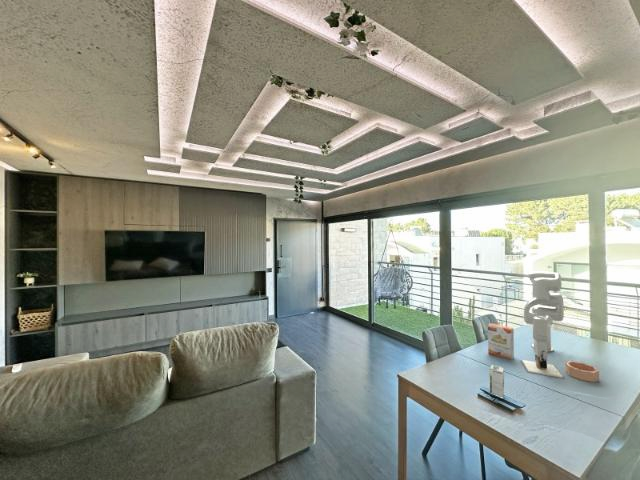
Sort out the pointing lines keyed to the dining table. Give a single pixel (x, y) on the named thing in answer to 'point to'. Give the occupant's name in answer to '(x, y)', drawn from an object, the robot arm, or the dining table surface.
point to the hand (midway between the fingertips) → (541, 364)
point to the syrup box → (497, 380)
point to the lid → (535, 368)
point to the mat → (540, 374)
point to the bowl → (582, 371)
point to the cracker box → (501, 341)
